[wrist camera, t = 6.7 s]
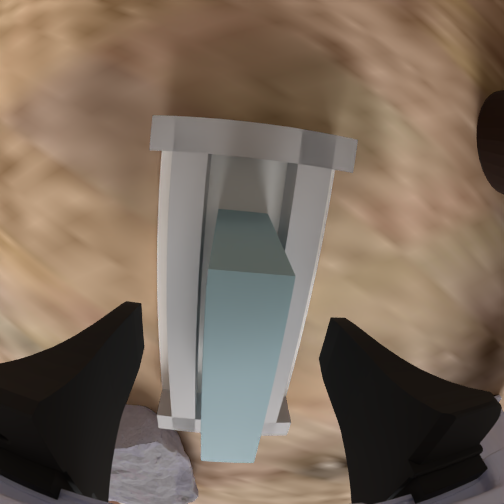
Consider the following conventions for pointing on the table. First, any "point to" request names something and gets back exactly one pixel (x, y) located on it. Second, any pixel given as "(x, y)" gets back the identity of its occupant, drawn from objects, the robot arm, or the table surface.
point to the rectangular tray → (202, 232)
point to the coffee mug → (492, 140)
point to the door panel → (242, 333)
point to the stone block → (149, 462)
